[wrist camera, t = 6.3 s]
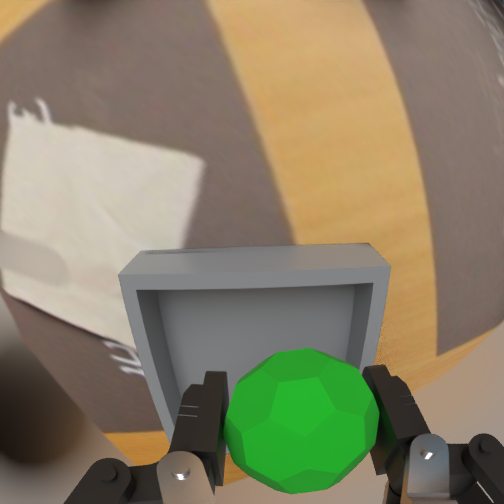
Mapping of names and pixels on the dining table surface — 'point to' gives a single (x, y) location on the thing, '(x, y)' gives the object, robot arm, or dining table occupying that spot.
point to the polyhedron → (301, 421)
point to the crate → (249, 310)
